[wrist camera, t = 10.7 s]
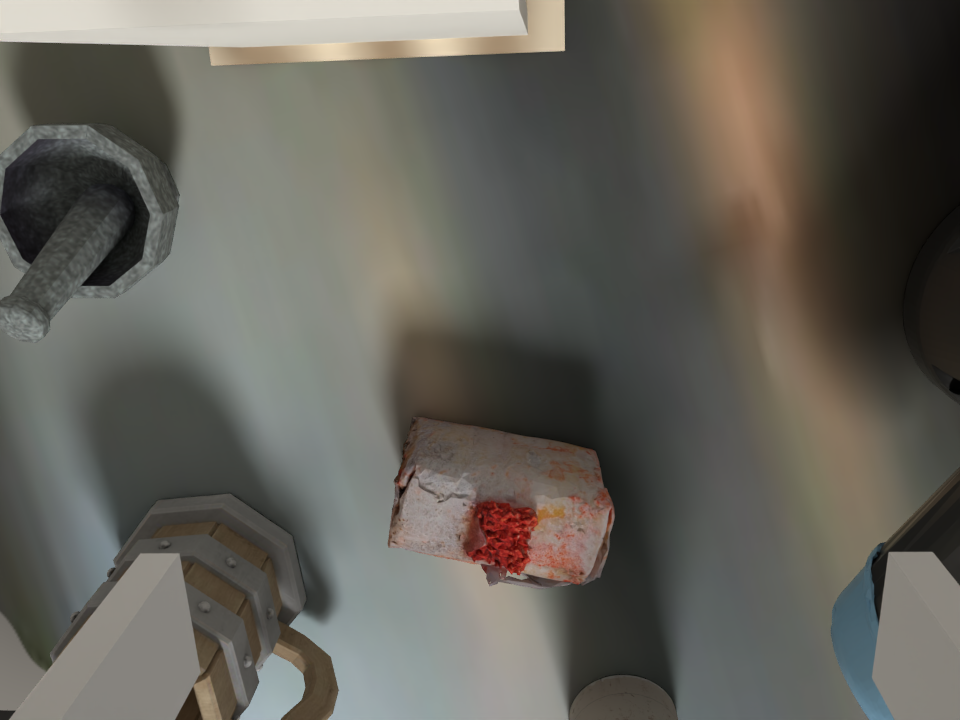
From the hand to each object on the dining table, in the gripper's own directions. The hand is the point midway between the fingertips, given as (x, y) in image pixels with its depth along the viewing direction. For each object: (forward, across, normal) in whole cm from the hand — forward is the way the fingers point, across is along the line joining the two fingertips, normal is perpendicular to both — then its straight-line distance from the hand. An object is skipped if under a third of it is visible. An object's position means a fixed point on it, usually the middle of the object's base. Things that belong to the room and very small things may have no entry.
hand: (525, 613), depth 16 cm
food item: (+39, +2, +17) cm, 42 cm away
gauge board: (+37, +8, -12) cm, 40 cm away
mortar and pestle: (+39, +25, -2) cm, 46 cm away
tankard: (+39, +20, +27) cm, 52 cm away
